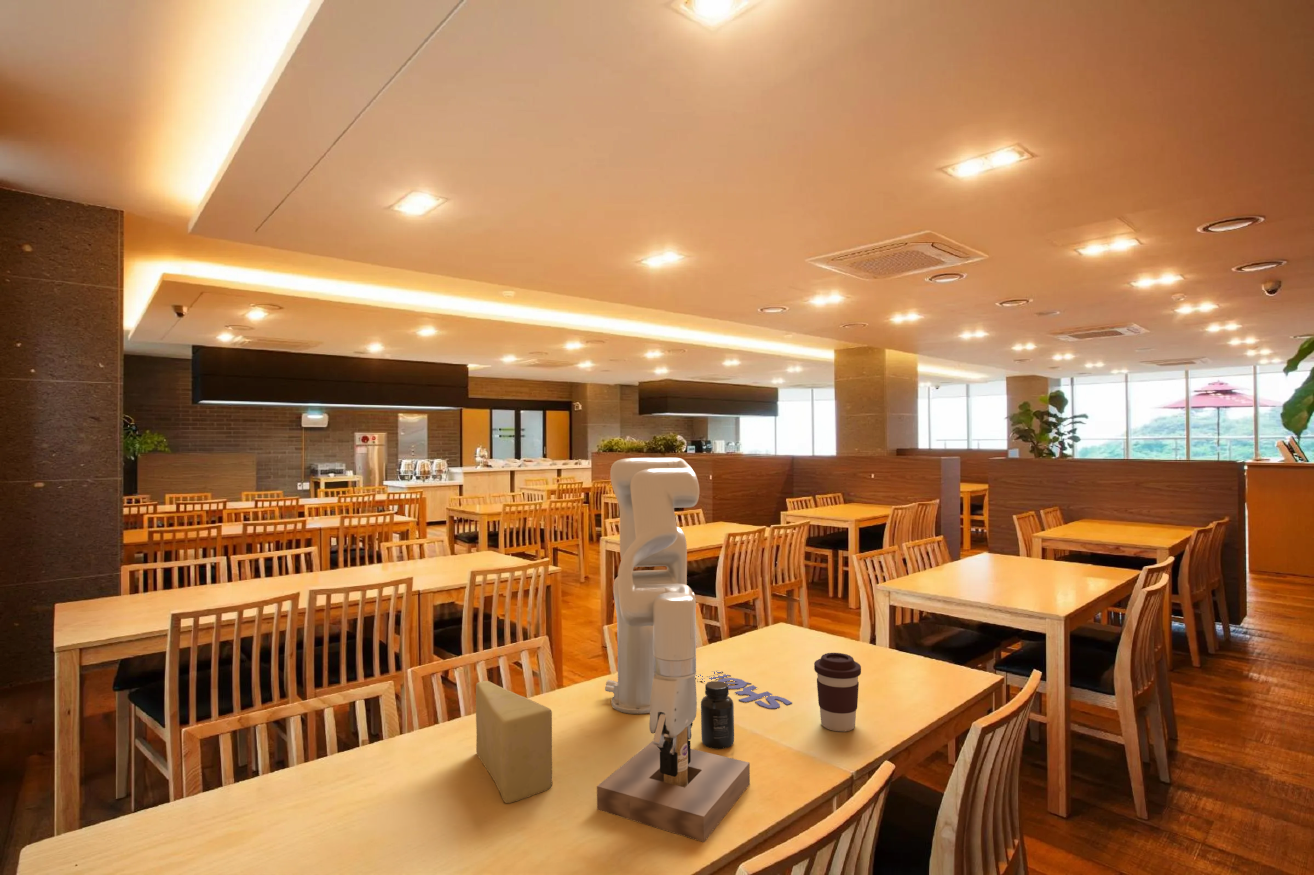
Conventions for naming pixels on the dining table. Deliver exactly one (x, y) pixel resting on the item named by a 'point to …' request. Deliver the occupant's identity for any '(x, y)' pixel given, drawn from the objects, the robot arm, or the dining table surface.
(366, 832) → the dining table surface
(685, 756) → the sprinkles bottle
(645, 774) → the walnut holder
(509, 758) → the cheese
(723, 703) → the supplement bottle
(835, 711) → the coffee cup
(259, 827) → the dining table surface
